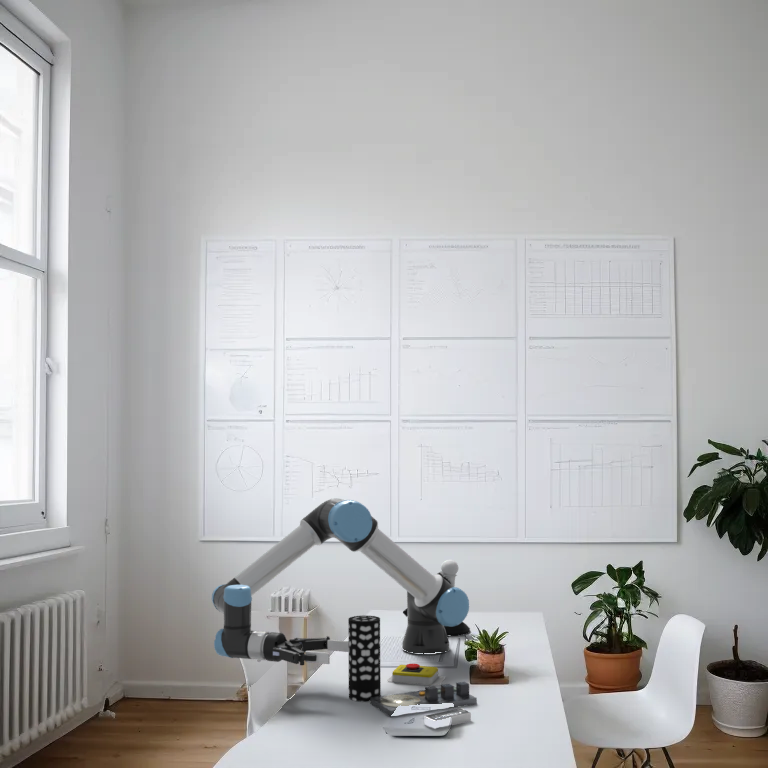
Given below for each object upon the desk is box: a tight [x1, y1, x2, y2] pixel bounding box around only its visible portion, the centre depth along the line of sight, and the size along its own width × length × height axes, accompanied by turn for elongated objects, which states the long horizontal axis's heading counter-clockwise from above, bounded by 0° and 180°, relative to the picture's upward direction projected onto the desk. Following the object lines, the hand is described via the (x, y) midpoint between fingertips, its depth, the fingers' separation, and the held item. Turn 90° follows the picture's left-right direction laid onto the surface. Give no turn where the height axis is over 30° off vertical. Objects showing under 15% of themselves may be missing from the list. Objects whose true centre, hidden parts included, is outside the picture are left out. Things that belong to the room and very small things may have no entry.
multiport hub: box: [423, 707, 472, 726], centre depth 197 cm, size 4×11×2 cm, turn 123°
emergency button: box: [386, 663, 446, 687], centre depth 234 cm, size 9×4×15 cm
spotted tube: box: [347, 615, 382, 702], centre depth 219 cm, size 8×8×20 cm
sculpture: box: [402, 559, 471, 637], centre depth 297 cm, size 15×24×25 cm, turn 85°
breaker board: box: [369, 681, 478, 718], centre depth 212 cm, size 24×12×4 cm, turn 114°
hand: (339, 652), depth 221 cm, fingers open, 13 cm apart
